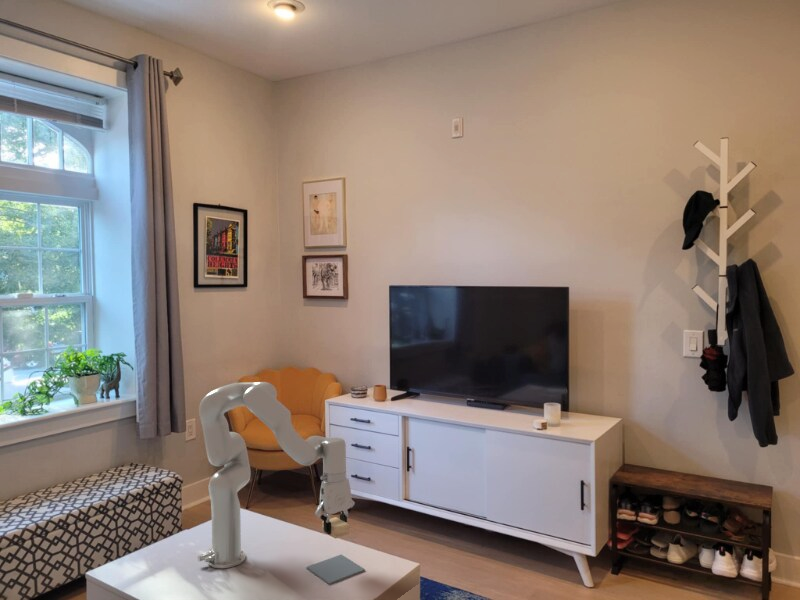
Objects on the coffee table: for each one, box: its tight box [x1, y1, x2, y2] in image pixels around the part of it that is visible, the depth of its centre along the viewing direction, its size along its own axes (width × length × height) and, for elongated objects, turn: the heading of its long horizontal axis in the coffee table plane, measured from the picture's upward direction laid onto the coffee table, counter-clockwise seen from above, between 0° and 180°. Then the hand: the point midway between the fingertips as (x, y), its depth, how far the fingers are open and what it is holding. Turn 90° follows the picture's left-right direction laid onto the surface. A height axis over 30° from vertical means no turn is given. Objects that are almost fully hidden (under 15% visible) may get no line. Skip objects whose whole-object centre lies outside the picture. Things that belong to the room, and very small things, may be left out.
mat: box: [305, 554, 366, 586], centre depth 193 cm, size 14×14×1 cm
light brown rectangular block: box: [321, 516, 350, 539], centre depth 193 cm, size 8×6×3 cm
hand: (335, 529), depth 193 cm, fingers closed on light brown rectangular block, 5 cm apart
